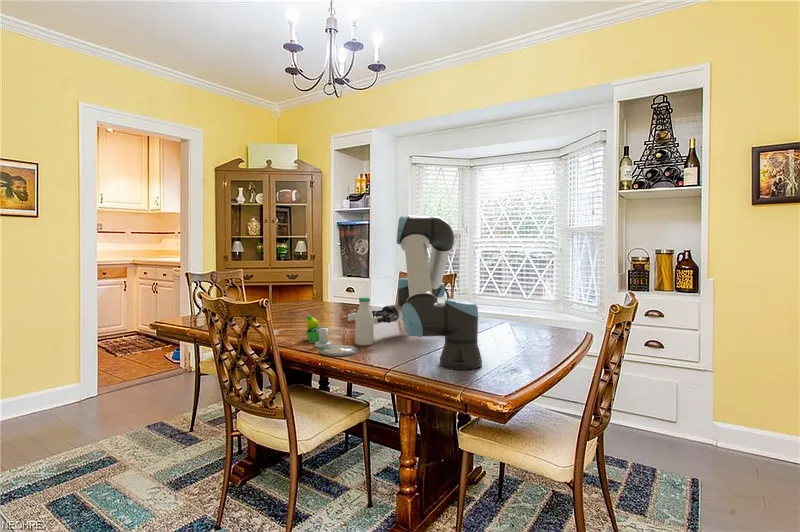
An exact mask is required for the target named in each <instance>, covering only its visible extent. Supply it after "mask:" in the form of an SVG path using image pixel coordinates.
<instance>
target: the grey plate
mask: <svg viewBox="0 0 800 532" xmlns="http://www.w3.org/2000/svg"><path fill="white" fill-rule="evenodd" d="M319 352H320V354H321V355H322V356H325V357H331V358H332V357H333V358H334V357H335V358H337V357H338V358H339V357H340V358H342V357H350V355H351V356H354V354H355V355H356V353H357V354H358V353H359V348H358V347H357V346H354V345H348V344H332V345H331V346H327V347H323V348H319Z"/></svg>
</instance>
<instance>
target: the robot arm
mask: <svg viewBox="0 0 800 532" xmlns="http://www.w3.org/2000/svg"><path fill="white" fill-rule="evenodd" d="M454 243H455V234H454V231H453V229H452V227H451V225H450V224H449V222H448V221H446V220H445V219H444V218H442V217H441V216H438V215H437V216H436V215H410V214H409V215H401V216H399V219H398V224H397V232H396V244H397V245H400V248H401V249H402V250H403V252H404V253H405V254H404V255H405V256H404V257H405V262H406V263H405V265H406V275H407V277H401V278H399V279H398V281H397V303H396V304H391V305H385V306H384V307H383V308H381V309H380V310H375V309H374V310H371V311H372V314H373V318H371V325H373V326H374V325H377V324H378V325H379V324H382V323H388V324H391V323H394V322H395V323H398V321H402V324H403V327H404V330H405V331H404V332H405V333H406V334H407V335H408V336H410V337H418V338H421V337H444V344H443V347H442V350H441V354H440V356H439V365H440V366H441V367H443V368H446V369H449V368H450V369H449V370H456V369H457V371H469V370H468V369H472V370H476V369H475V368H477V369H479V368H478V367H480V368H482V367H483V359H482V355H481V352H480V349H479V345H478V335H479V334H478V333H479V332H478V330H479V308H478V305H477V304H476V303H474V302H471V301H468V300H464V299H463V300H461V299H456V298H446V299H445V301H444V303H441V302H440V303H439V302H438V299H440V298H441V299H442V298H443V297H445V290H446V289H445V288H446V287H445V284H444V282H443V279H444V274H445V270H446V267H447V262H448V257H449V254H450V251H451V250H452V249H453V247H454ZM430 245H431V252H430V257H429V259H428V251H427V249H428V248H429V247H430ZM356 313H357V311H355V312H354V313H349V314H347V322H348V321H349V322H350V321H355V320H356Z"/></svg>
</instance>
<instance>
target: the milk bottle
mask: <svg viewBox="0 0 800 532" xmlns="http://www.w3.org/2000/svg"><path fill="white" fill-rule="evenodd" d="M370 301H371V298H370V297H368V296H367V297H366V296H363V297H361V296H360V297H359V298H358V303H359V306H358V308H357V310H356V312H357V313H356V312H355V313H356V320H354V321H355V322H354V324H355V325H354V326H355V331H354V335H355V336H354V339H355V341H354V342H355V345H358V346H371V345H373V344H374V324H373V325H371V318H373V314H372V311H373V310H371V309H372V308H371V306H370Z"/></svg>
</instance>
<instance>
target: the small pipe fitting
mask: <svg viewBox="0 0 800 532" xmlns="http://www.w3.org/2000/svg"><path fill="white" fill-rule="evenodd" d="M328 339H329V329H328V328H319V341H318V342H315V343H314V347H315V348H316V347H317V348H316V349H321V348H323V347H327V346H331V345H333V342H332V341H330V340H328Z"/></svg>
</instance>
